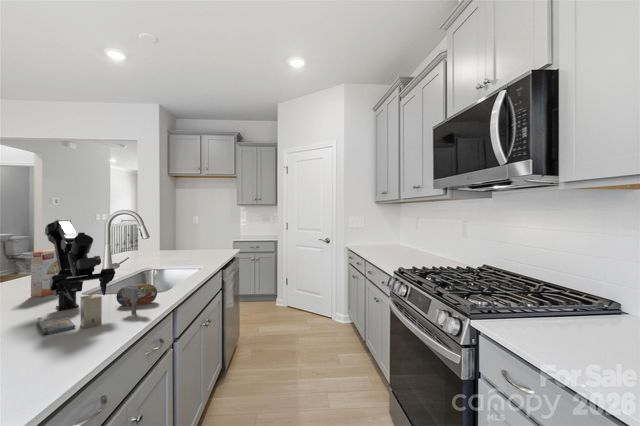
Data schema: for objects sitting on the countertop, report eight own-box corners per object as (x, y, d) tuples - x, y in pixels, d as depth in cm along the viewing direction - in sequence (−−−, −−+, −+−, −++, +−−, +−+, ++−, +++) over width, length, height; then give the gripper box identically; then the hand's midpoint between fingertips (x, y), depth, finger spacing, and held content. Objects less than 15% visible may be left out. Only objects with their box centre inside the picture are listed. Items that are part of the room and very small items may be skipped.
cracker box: (43, 297, 141) (42, 251, 141) (30, 297, 141) (29, 251, 141) (68, 289, 155) (68, 248, 155) (56, 289, 155) (56, 247, 155)
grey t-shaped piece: (142, 314, 119) (142, 289, 119) (119, 312, 121) (119, 287, 121) (147, 312, 122) (147, 287, 122) (125, 310, 124) (125, 285, 124)
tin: (116, 307, 128) (116, 287, 128) (118, 304, 131) (118, 285, 131) (156, 303, 134) (156, 284, 134) (157, 301, 137) (157, 282, 137)
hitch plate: (37, 324, 108) (37, 317, 108) (66, 318, 114) (66, 312, 114) (43, 335, 99) (43, 328, 99) (75, 328, 105) (75, 321, 105)
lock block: (80, 325, 108) (80, 296, 108) (97, 321, 112) (97, 293, 112) (84, 328, 105) (84, 299, 105) (101, 324, 109) (101, 296, 109)
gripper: (51, 252, 106) (60, 289, 99) (113, 247, 120) (124, 279, 113) (45, 272, 110) (53, 308, 104) (106, 264, 125) (116, 296, 118)
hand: (89, 297), depth 110 cm, fingers open, 9 cm apart
